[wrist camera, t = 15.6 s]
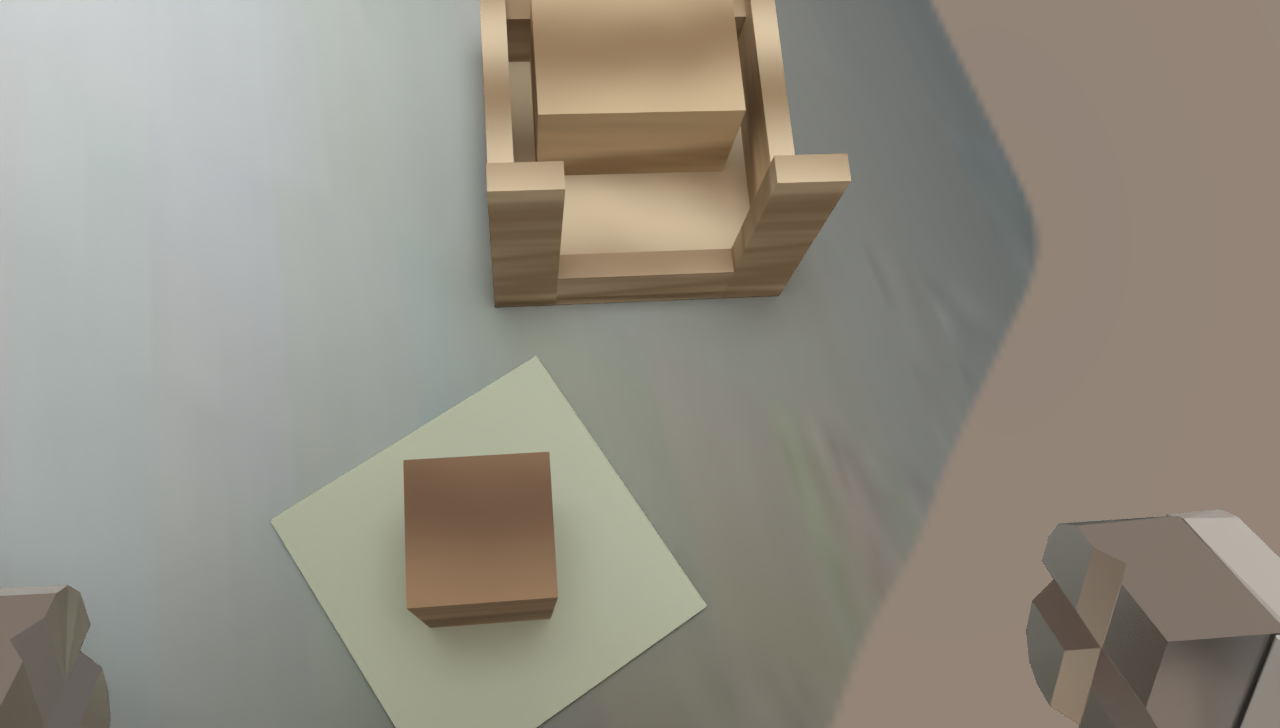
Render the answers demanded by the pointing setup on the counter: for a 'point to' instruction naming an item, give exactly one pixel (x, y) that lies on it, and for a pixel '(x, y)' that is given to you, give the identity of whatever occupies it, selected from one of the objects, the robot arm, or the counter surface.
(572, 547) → the pad
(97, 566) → the counter surface
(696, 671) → the counter surface
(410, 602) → the block
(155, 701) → the counter surface
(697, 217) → the tan piece
